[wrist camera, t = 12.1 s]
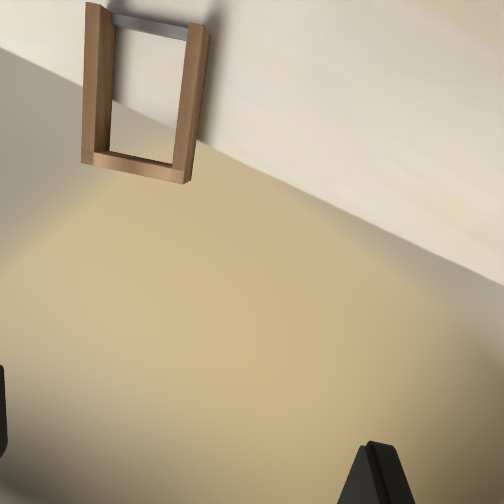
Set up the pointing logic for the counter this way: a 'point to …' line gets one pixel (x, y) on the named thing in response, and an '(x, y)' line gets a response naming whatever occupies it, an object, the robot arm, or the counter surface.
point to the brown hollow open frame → (101, 88)
